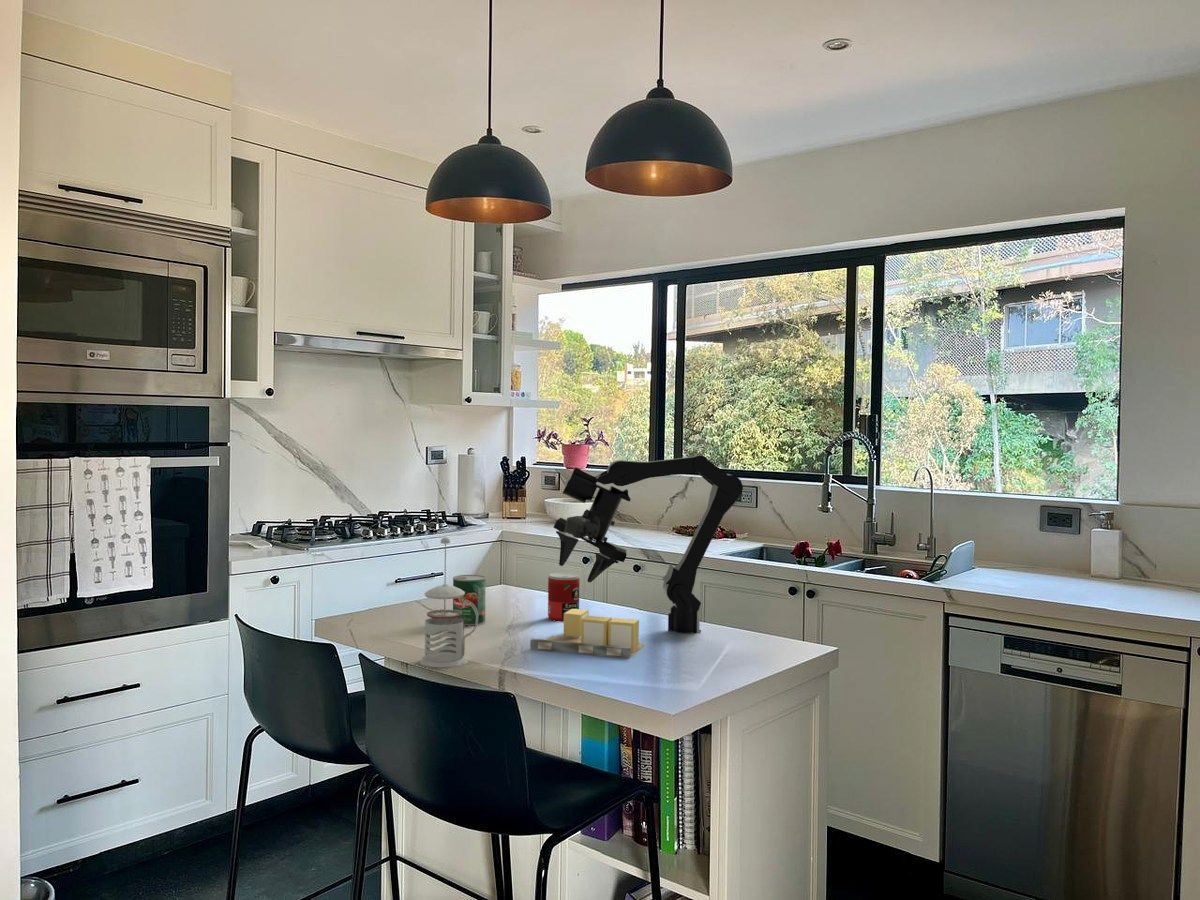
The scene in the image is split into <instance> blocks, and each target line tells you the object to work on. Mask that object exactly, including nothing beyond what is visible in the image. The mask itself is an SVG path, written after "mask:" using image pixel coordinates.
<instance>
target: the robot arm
mask: <svg viewBox="0 0 1200 900" xmlns="http://www.w3.org/2000/svg"><path fill="white" fill-rule="evenodd" d="M691 473H693V474H694V473H697V474H698V475H699V476H700V477H702V478H703V479H704V480H705V481H706V482H707V483H708V484H709V485H711V490H710V493H709V498H708V503H707V507H706V509H705V511H704V514H703V516H702V517H701V520H699V521H700V522H698V523H699V524H698V525H697V528H696V530H695V531H694V534H693V536H692V538H691V540H690V542H689V543H688V546H687V548H686V550H685V552H684V554H683V556H682V558H681V559H680V561H679V562H678V563H677V564H676V565H675V566H674V565H673V564H671V563H670V564H669V566H668V569H667V572H666V574H665V575H664V576H663V577H662V580H663V585H662V589H663V592H664V594H665V595H666V597H667V598H668V600H669V601H670V602H672V604H673V605H672V606H671V607H670V612H669V613H668V614H667V617H668V618H667V631H668V632H675V633H680V634H699V635H700V634H701V633H702V630H701V629H700V625H701V624H700V621H701V620H700V619H701V618H700V617H701V616H700V615H701V613H700V612H701V609H700V608H701V604H702V602H701V601H700V600H699V598H697V596H696V595H694V593H693V590H694V587H695V583H696V578H697V572H698V568H699V566H700V564H701V562H702V560H703V558H704V556H705V554H706V552H707V550H708V549H709V546H710V543H711V542H712V540H713V538H714V536H715V534H716V532H717V531H718V528H719V526H720V524H721V521H722V520H723V518H724V516H725V514H726V513H727V512H728V511H729V510H730V509H731V508H732V507H733V506H734V505H735V504H736V502H737V500H738V499H739V498H740V497H741V495H742V494H743V490H744V485H743V483H742V481H741V479H740V478H739V477H737V476H736V475H733V474H729V473H726V472H725V471H723V470H722V469H721V468H719V467H718V466H716V464H714V463H712V462H711V461H710V460H709V459H708V458H707V457H706V455H703V454H701V455H700V454H696V455H693V456H687V457H677V458H669V459H659V460H652V461H636V460H624V459H623V460H621V459H618V460H614V461H612V462H611V463H610V464H609V465H608V466H607V469H606V470H605V471H603V472H601V473H598V474H597V475H596V476H595V475H592V474H590V473H588V472H586V471H584V470H582V469H581V468H579V467H576V466H575V467H574V468H573V470H572V472H571V474H570V476H569V478H568V479H567V481H566V483H565V485H564V487H563V490H562V495H565V496H567V497H570V498H572V499H573V500H577V501H578V502H580V503H583V504H585V503H586V501H589V502H591V501H592V499H593V498H594V500H593V502H592V504H591V506H590V508H589V509H587V508H586V509H585V510H584V511H583V512H582V515H575V516H569V517H567V518H563V517H559V518H558V519H557V520H556V521H555V523H554V524H553V527H552V528H554V529H556V531H555V533H556V534H557V535H558V537H559V540H560V547H559V548H560V550H559V563H558V565H559V566H561V567H563V566H564V565H565V564H566V563H567V561H568V560H569V557H570V556H571V555H572V552H573V551H574V549H575V547H576V545H577V544H578V542H579V539H581V540H583V541H584V542H586V543H589V544H590V545H592V546H594V547H595V548H597V549H598V551H599V553H598V552H595V561H594V563H593V566H592V568H591V570H590V572H589V573H588V578H587V581H586V582H587V583H592V582H593V581H594V580H596V578H598V577H599V576H600V574H602V573H603V572H605V570H607V569H608V568H610V567H611V566H612V565H614V564H619V562H621V563H624V562H625V560H626V558H627V555H628V554H627V550H626V549H625V548H623V547H621V546H619V545H617V544H616V543H612V542H608V536H606V535H607V533H608V530H609V529H610V526H612V527H613V526H614V525H615V523H616V521H614V518H615V515H616V513H617V511H618V508H619V506H620V504H621V501H622V500H624V501H627V502H631V500H632V499H631V498H630V495H629V490H628V489H627V488H626V489H624V490H621V489H619V488H617V487H624V486H628V485H631V484H632V485H633V484H634V483H637V482H641V481H643V480H646V479H647V480H648V479H652V478H660V477H668V476H675V475H686V474H691ZM597 483H599V484H602V485H603V486H604V485H605V486H606V485H610V484H613V485H614V486H613V485H610V487H609V488H606V487H603V486H602V485H599V484H597ZM616 486H617V487H616ZM597 489H598V490H597ZM596 491H597V493H596V495H595V492H596ZM594 496H595V497H594Z"/></svg>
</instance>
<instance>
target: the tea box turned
mask: <svg viewBox="0 0 1200 900" xmlns="http://www.w3.org/2000/svg"><path fill="white" fill-rule="evenodd" d="M586 616H589V609H580V608H579V609H571V610H569V611H567V612H565V613H564V622H563V637H574V638H581V619H583V618H584V617H586Z"/></svg>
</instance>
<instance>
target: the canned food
mask: <svg viewBox="0 0 1200 900" xmlns="http://www.w3.org/2000/svg"><path fill="white" fill-rule="evenodd" d="M547 577H548V578H547V579H548V580H547V581H548V582H547V583H548V584H547V588H548V589H547V616H548V620H550V619H551V620H550V621H552V620H555V621H554V622H556V621H564V613H565V612H567V611H569V610H571V609H580V583H581V581H580V579H581V578H580V574H578V573H574V572H566V571H564V572H551V573H549V574H548V576H547Z"/></svg>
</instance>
